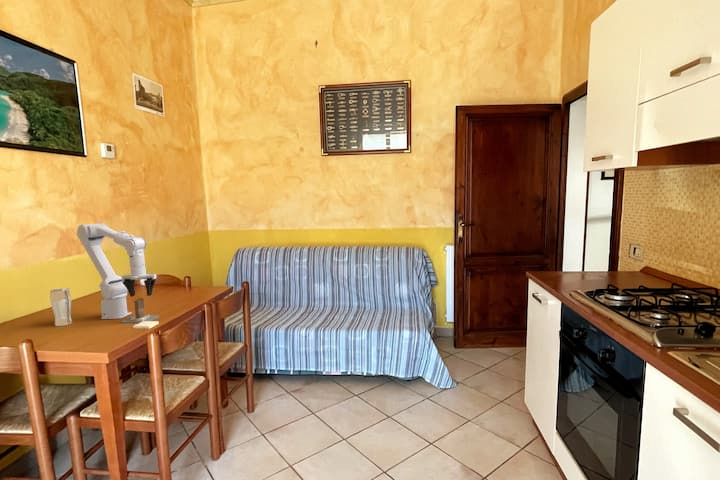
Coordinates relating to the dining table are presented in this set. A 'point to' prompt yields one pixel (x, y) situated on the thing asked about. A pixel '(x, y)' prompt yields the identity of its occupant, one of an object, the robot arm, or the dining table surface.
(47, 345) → the dining table surface
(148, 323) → the tile
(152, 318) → the rest mat
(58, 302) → the beer glass
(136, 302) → the grey upright block
